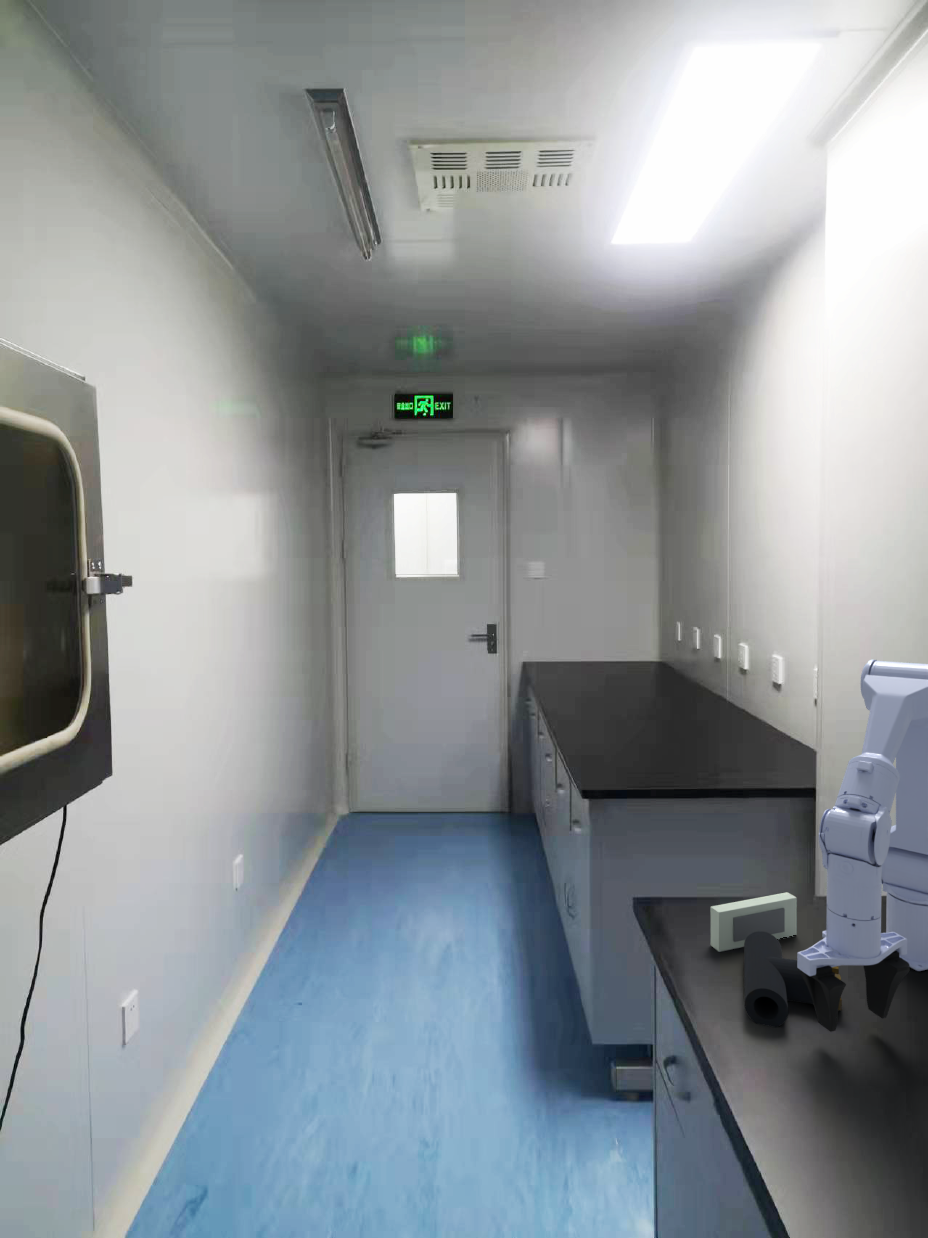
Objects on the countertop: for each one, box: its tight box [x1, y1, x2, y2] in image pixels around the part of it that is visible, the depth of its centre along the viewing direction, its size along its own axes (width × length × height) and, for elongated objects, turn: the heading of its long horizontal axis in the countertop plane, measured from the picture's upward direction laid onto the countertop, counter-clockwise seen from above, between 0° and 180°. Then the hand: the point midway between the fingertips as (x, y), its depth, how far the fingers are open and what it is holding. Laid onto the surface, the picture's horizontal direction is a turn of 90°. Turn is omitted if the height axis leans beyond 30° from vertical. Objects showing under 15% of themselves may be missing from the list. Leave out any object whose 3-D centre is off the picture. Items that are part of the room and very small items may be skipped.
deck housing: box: [710, 891, 798, 953], centre depth 110 cm, size 14×2×6 cm, turn 107°
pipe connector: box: [743, 931, 843, 1028], centre depth 96 cm, size 12×5×15 cm
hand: (852, 1019), depth 87 cm, fingers open, 7 cm apart
